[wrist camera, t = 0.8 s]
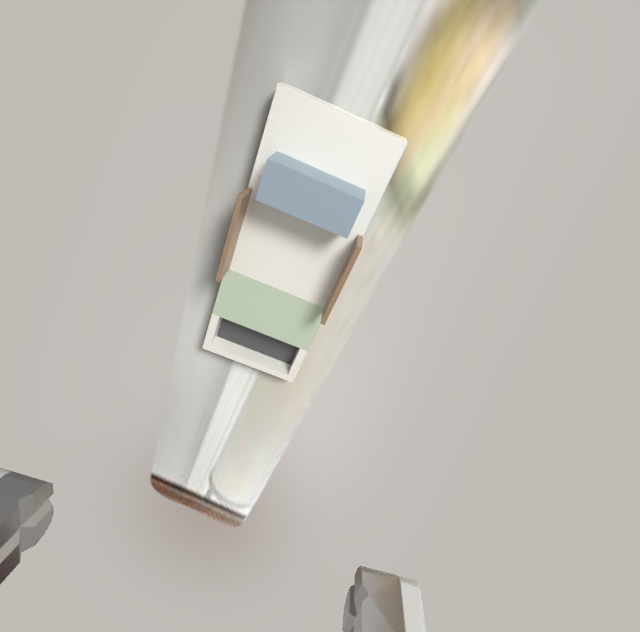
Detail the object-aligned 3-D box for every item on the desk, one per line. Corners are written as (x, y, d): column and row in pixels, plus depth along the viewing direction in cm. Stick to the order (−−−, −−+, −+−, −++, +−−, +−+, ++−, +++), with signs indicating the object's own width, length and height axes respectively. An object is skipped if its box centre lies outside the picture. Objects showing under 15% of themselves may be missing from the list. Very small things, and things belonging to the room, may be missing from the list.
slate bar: (277, 150, 39) (267, 158, 35) (365, 189, 39) (364, 200, 36) (265, 189, 41) (255, 199, 37) (349, 225, 42) (347, 238, 38)
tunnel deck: (283, 82, 38) (268, 83, 33) (406, 138, 39) (410, 148, 34) (208, 337, 55) (191, 364, 50) (295, 370, 56) (287, 400, 51)
